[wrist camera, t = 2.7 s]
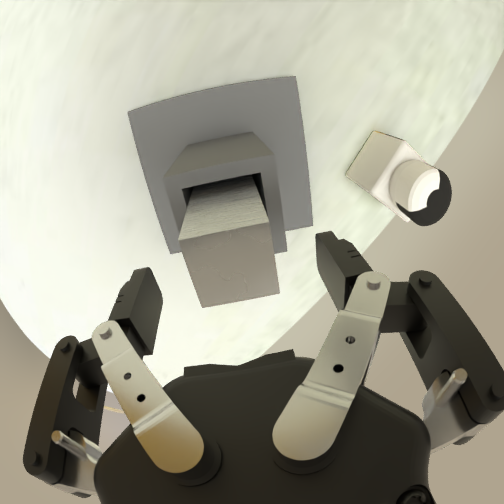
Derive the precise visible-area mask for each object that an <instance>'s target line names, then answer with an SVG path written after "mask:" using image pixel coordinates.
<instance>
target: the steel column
mask: <svg viewBox="0 0 504 504" xmlns="http://www.w3.org/2000/svg"><path fill="white" fill-rule="evenodd" d="M178 242H179V245H180V248H181V251H182V254H183V257H184V259H185V262H186V265H187V268H188V271H189V274H190V276H191V279H192V282H193V285H194V287H195V290H196V293H197V295H198V298H199V301H200V303H201V306H202V308H205V307H211V306H216V305H222V304H228V303H233V302H238V301H244V300H249V299H254V298H259V297H264V296H269V295H274V294H279V293H280V290H279V283H278V276H277V269H276V262H275V256H274V249H273V242H272V236H271V229H270V223H269V219H268V217H267V214H266V211H265V209H264V206H263V203H262V201H261V198H260V195H259V193H258V190H257V188H256V185H255V182H254V180H253V177H252V174H249V175H244V176H239V177H234V178H229V179H224V180H219V181H215V182H210V183H206V184H201V185H197V186H194V187H193V190H192V194H191V197H190V200H189V203H188V207H187V210H186V214H185V217H184V221H183V224H182V228H181V231H180V235H179V239H178Z"/></svg>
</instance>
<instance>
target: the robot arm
mask: <svg viewBox="0 0 504 504" xmlns="http://www.w3.org/2000/svg"><path fill="white" fill-rule="evenodd" d="M315 239H316V257H317V267H318V271H319V274H320V276H321V278H322V280H323V282H324V284H325V286H326V288H327V290H328V292H329V294H330V296H331V298H332V300H333V302H334V304H335V306H336V308H337V310H338V314H337V317H336V319H335V321H334V323H333V325H332V327H331V329H330V332H329V334H328V336H327V338H326V340H325V342H324V344H323V346H322V348H321V350H320V352H319V354H318V356H317V358H316V360H315V359H312V358H307V357H295V354H294V351H293V349H292V350H287V351H282V352H278V353H272V354H267V355H264V356H262V357H259V358H257V359H254V360H252V361H249V362H247V363H244V364H241V365H238V366H232V365H217V364H206V365H198V366H189V367H184V375H183V376H180V377H178V378H176V379H174V380H172V381H171V382H169V383H168V384H166V385H165V386H164V387H162V386H161V385H160V384H159V382H158V381H157V380H156V378H155V377H154V376H153V374H152V373H151V371H150V370H149V369H148V367H147V366H146V365H145V363H144V362H143V356H144V355H153V349H154V344H155V339H156V334H157V329H158V324H159V319H160V314H161V310H162V305H163V298H162V293H161V291H160V289H159V286H158V284H157V282H156V280H155V277H154V275H153V273H152V270H151V269H150V268H149V267H146V268H142V269H137V270H134V272H133V274H132V276H131V279H130V281H127V282H126V283H125V285H124V286H123V287H122V288H121V290H120V292H119V294H118V297H117V299H116V303H115V304H114V306H113V309H112V311H111V314H110V317H109V319H108V321H106V322H103V323H101V324H100V325H99V326H97V327H96V329H95V330H94V331H93V334H92V338H91V339H88V340H85V341H83V342H80V343H79V341H78V340H77V339H76V337H74V336H66V337H64V338H63V339H61V340H60V341H59V342H58V343H57V345H56V346H55V348H54V351H53V354H52V356H51V359H50V361H49V364H48V367H47V370H46V373H45V375H44V379H43V381H42V384H41V388H40V391H39V394H38V398H37V401H36V404H35V407H34V411H33V415H32V418H31V422H30V426H29V431H28V435H27V440H26V444H25V449H24V455H23V464H24V467H25V469H26V471H27V472H28V473H29V474H31V475H33V476H35V477H37V478H38V479H41V480H43V481H44V482H45V483H47V484H49V485H51V486H53V487H55V488H57V489H60V490H62V491H64V492H67V493H71V494H74V495H76V496H78V497H81V498H87V497H90V496H91V495H95V496H98V497H99V499H100V502H101V504H436V502H435V500H434V498H433V496H432V494H431V492H430V489H429V484H428V464H429V457H430V454H432V453H434V452H436V451H438V450H440V449H443V448H445V447H446V446H448V445H450V444H452V443H453V444H455V445H461V444H464V443H466V442H468V441H469V440H470V439H471V438H473V437H474V436H475V435H476V434H478V433H479V432H480V431H481V430H483V429H484V428H485V427H486V426H487V425H488V424H489V423H491V422H492V421H493V420H494V419H495V418H496V417H497V416H498V415H499V414H500V413H501V412H503V410H504V371H503V369H502V367H501V366H500V364H499V362H498V361H497V359H496V357H495V355H494V354H493V352H492V351H491V349H490V348H489V346H488V345H487V343H486V341H485V340H484V339H483V337H482V335H481V334H480V333H479V331H478V329H477V328H476V327H475V325H474V324H473V322H472V321H471V320H470V318H469V317H468V315H467V314H466V313H465V311H464V310H463V309H462V307H461V306H460V305H459V303H458V302H457V301H456V299H455V298H454V297H453V296H452V294H451V293H450V292H449V290H448V289H447V288H446V287H445V285H444V284H443V283H442V282H441V281H440V279H439V278H438V277H437V276H436V275H435V274H433V273H431V272H428V271H423V270H421V271H416V272H414V273H412V274H411V275H410V277H409V282H390V279H389V278H388V277H387V276H386V275H384V274H383V273H380V272H374V271H373V270H372V269H371V267H370V266H369V265H368V263H367V262H366V261H365V259H364V258H363V257H362V256H361V254H360V253H359V252H358V251H357V249H356V248H355V247H354V245H353V244H352V243H350V242H348V241H347V240H345V239H341V240H338V239H337V237H336V236H335V235H334V233H333V232H332V231H328V232H323V233H318V234H316V237H315ZM392 332H399V333H400V335H401V337H402V339H403V341H404V343H405V345H406V347H407V349H408V351H409V353H410V355H411V356H412V359H413V361H414V363H415V365H416V367H417V369H418V371H419V373H420V375H421V378H422V380H423V382H424V384H425V386H426V389H427V391H428V392H427V393H426V395H425V396H424V399H423V403H422V407H423V411H424V419H423V421H422V420H421V419H420V418H419V417H418V416H417V415H416V414H414V413H412V412H410V411H409V410H407V409H405V408H403V407H401V406H399V405H397V404H396V403H394V402H392V401H390V400H388V399H386V398H385V397H383V396H381V395H379V394H377V393H376V392H374V391H372V390H370V389H368V388H366V387H365V386H364V384H365V382H366V379H367V375H368V373H369V369H370V366H371V363H372V360H373V357H374V354H375V351H376V348H377V344H378V341H379V338H380V334H381V333H392ZM75 378H76V379H77V380H78V381H79V382H80V383H79V387H78V391H77V395H76V399H75V397H74V395H73V385H74V381H75ZM108 383H109V385H110V387H111V389H112V391H113V393H114V395H115V396H116V398H117V400H118V402H119V404H120V405H121V407H122V409H123V411H124V413H125V414H126V416H127V418H128V419H129V421H130V425H129V426H128V427H127V428H126V429H125V430H124V431H123V432H122V433H121V435H120V436H119V437H118V438H117V439H116V440H115V441H114V442H113V444H111V446H110V447H109V448H108V449H107V450H106V451H105V452H104V453H103V454H102V452H101V450H100V448H99V447H98V444H99V435H100V427H101V420H102V413H103V407H104V401H105V396H106V390H107V385H108Z"/></svg>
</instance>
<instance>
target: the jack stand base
mask: <svg viewBox="0 0 504 504" xmlns="http://www.w3.org/2000/svg"><path fill="white" fill-rule="evenodd" d="M128 116H129V120H130V124H131V128H132V132H133V136H134V140H135V144H136V147H137V151H138V155H139V158H140V162H141V165H142V169H143V172H144V176H145V179H146V182H147V186H148V189H149V192H150V195H151V198H152V202H153V205H154V208H155V211H156V214H157V217H158V220H159V223H160V226H161V229H162V232H163V234H164V237H165V240H166V243H167V246H168V249H169V251H170V254H174V253H179V252H182V251H181V248H180V245H179V242H178V239H179V235H180V231H181V228H182V224H183V221H184V217H185V214H186V210H187V207H188V203H189V200H190V197H191V194H192V190H193V187H194V186H197V185H201V184H206V183H210V182H215V181H219V180H224V179H229V178H234V177H239V176H244V175H249V174H252V177H253V180H254V182H255V185H256V188H257V190H258V193H259V195H260V198H261V201H262V203H263V206H264V209H265V211H266V214H267V217H268V219H269V223H270V229H271V236H272V242H273V249H274V254H276V253H281V252H286V251H287V243H286V235H285V231H289V230H294V229H299V228H304V227H310V226H313V218H312V205H311V193H310V182H309V172H308V163H307V154H306V145H305V137H304V129H303V121H302V114H301V107H300V100H299V94H298V88H297V81H296V76H292V77H281V78H272V79H264V80H256V81H249V82H243V83H237V84H231V85H226V86H221V87H216V88H211V89H206V90H202V91H197V92H193V93H189V94H185V95H181V96H177V97H174V98H170V99H167V100H163V101H160V102H156V103H153V104H150V105H147V106H144V107H141V108H138V109H135V110H132V111H129V112H128Z"/></svg>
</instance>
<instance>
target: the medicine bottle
mask: <svg viewBox="0 0 504 504" xmlns="http://www.w3.org/2000/svg"><path fill="white" fill-rule="evenodd" d="M346 176H347V177H348V178H349V179H351V180H352V181H353V182H355V183H356V184H357V185H359V186H360V187H362V188H363V189H364V190H366V191H367V192H368V193H370V194H371V195H372V196H374V197H375V198H376V199H377V200H379V201H380V202H381V203H383V204H384V205H385V206H387V207H388V208H389V209H390V210H392V211H393V212H394V213H396V214H397V215H398V216H399V217H400V218H402V219H403V220H404V221H405V222H409V221H410V220H412V221H413V222H415V223H416V224H418V225H420V226H428V225H432V224H434V223H436V222H437V221H439V220H440V219H441V218H442V217H443V216H444V214H445V213H446V211H447V209H448V207H449V205H450V201H451V194H452V190H451V185H450V181H449V178H448V177H447V175H446V174H445V173H444V172H443V171H441V170H439V169H437V168H435V167H433V166H431V165H429V164H428V163H427V162H426V161H425V160H424V159H423V158H422V157H421V156H420V155H419V154H418V153H417V152H416V151H415V150H414V149H413V148H412V147H411V146H410V145H409V144H408V143H407V142H406V141H405V140H402V139H399V138H396V137H393V136H390V135H387V134H384V133H381V132H377V131H373V132H372V134H371V135H370V137H369V138H368V140H367V141H366V143H365V145H364V146H363V148H362V149H361V151H360V152H359V154H358V156H357V157H356V159H355V160H354V162H353V163H352V165H351V166H350V168H349V169H348V171H347V172H346Z"/></svg>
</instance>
